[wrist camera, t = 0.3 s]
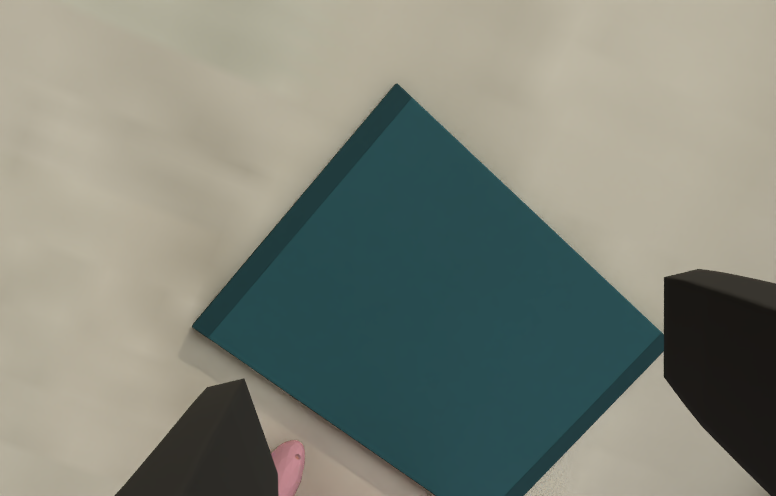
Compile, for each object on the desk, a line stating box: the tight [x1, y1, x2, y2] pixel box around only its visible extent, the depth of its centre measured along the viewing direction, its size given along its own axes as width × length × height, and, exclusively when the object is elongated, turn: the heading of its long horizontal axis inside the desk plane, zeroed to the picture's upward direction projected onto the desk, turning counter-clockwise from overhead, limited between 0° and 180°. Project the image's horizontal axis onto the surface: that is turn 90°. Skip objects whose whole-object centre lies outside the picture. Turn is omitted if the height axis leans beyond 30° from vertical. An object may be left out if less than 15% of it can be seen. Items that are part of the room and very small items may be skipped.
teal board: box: [192, 84, 664, 496], centre depth 20 cm, size 11×15×1 cm
